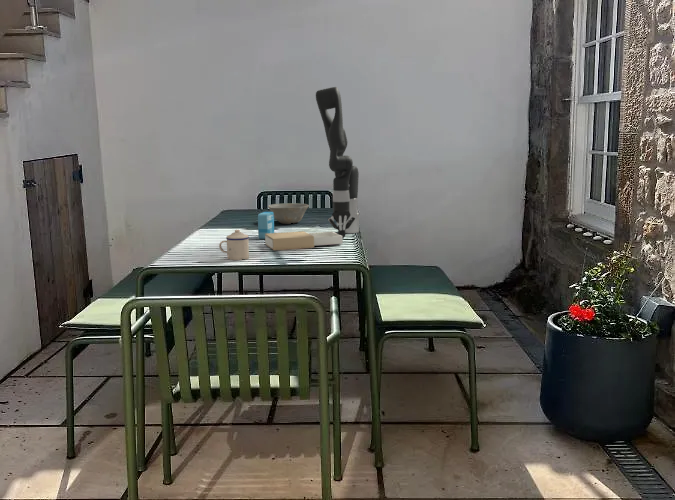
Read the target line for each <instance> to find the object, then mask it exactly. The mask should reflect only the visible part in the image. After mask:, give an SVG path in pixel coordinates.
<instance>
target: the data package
mask: <svg viewBox="0 0 675 500" xmlns="http://www.w3.org/2000/svg"><path fill="white" fill-rule="evenodd" d="M257 229H258V230H257V231H258V233H257V234H258V236H257V237H258V239H259V240H265V234H268V233H275V218H274V213H273V212H271V211H263V212H260V213H258V215H257Z"/></svg>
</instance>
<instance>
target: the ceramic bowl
mask: <svg viewBox="0 0 675 500" xmlns="http://www.w3.org/2000/svg"><path fill="white" fill-rule="evenodd" d="M267 207H268V209H269V212H273V213H274V220H276V221H277V222H279V223H280V224H283V225H292V224H291V223H293V224H296V223H299V222H301V221H302V220H303V216H304V215H305V213H306V211H307V209H309V207H310V205H309V204H307V203H296V202H295V203H291V202H290V203H287V202H286V203H285V202H284V203H273V204H269V205H268V206H267Z"/></svg>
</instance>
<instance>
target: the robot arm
mask: <svg viewBox="0 0 675 500" xmlns="http://www.w3.org/2000/svg"><path fill="white" fill-rule="evenodd" d="M315 101H316V104H317V107H318V111H319V113H320V116H321V119H322V123H323V127H324V131H325V137H326V140H327V144H328V147H329V151H330V152H329V160H328V167H329V170H330V171H332V172H333V173H334V178H333V181H332V184H333V185H332V186H333V187H332V190H333V191H332V192H333V193H332V214H331V217H328V218H327V221H328V223H330V225H331V226H332V227H333V228H334V229H335V230H337V234H339V235H341V236H342V237H343V239H344V238H345V237H346V234H355V233H356V234H357V233H360V213H358V193H359V173H360V172H359V169H358V167H357V166H356V165H354V164H353V159H352V157H351V155H344V154H345V152H346V149H347V147H348V137H347V134H346V130H345V129H344V122H343V107H342V104H343V103H342V97H341V93H340V90H339V88H338V87H337V86H334V87H333V86H332V87H327V88H323V89H318V90H316V92H315ZM333 109H334V116H333V117H332V116H331V114H330V113H329V111H328V110H333ZM334 221H335V222H334Z"/></svg>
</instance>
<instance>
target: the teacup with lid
mask: <svg viewBox="0 0 675 500" xmlns="http://www.w3.org/2000/svg"><path fill="white" fill-rule="evenodd" d="M249 238H250V236H249V235H248V234H245V233H243V232H242V231H241V230H240V229H235V230H234V232H232V233H231V234H229V235H227V236H226V237H225V239H226V240H222V241H220V243H219V244H218V245H219V246H218V247H219V250H220V251H221V252H222V253H224V254H227V255H226V256H227V259H228V260H229V259H230V261H243V260H242V259H245V260H248V259H249V258H250V245H249V243H250V241H249ZM223 243H226V250H224V249H223V248H222V244H223Z"/></svg>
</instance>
